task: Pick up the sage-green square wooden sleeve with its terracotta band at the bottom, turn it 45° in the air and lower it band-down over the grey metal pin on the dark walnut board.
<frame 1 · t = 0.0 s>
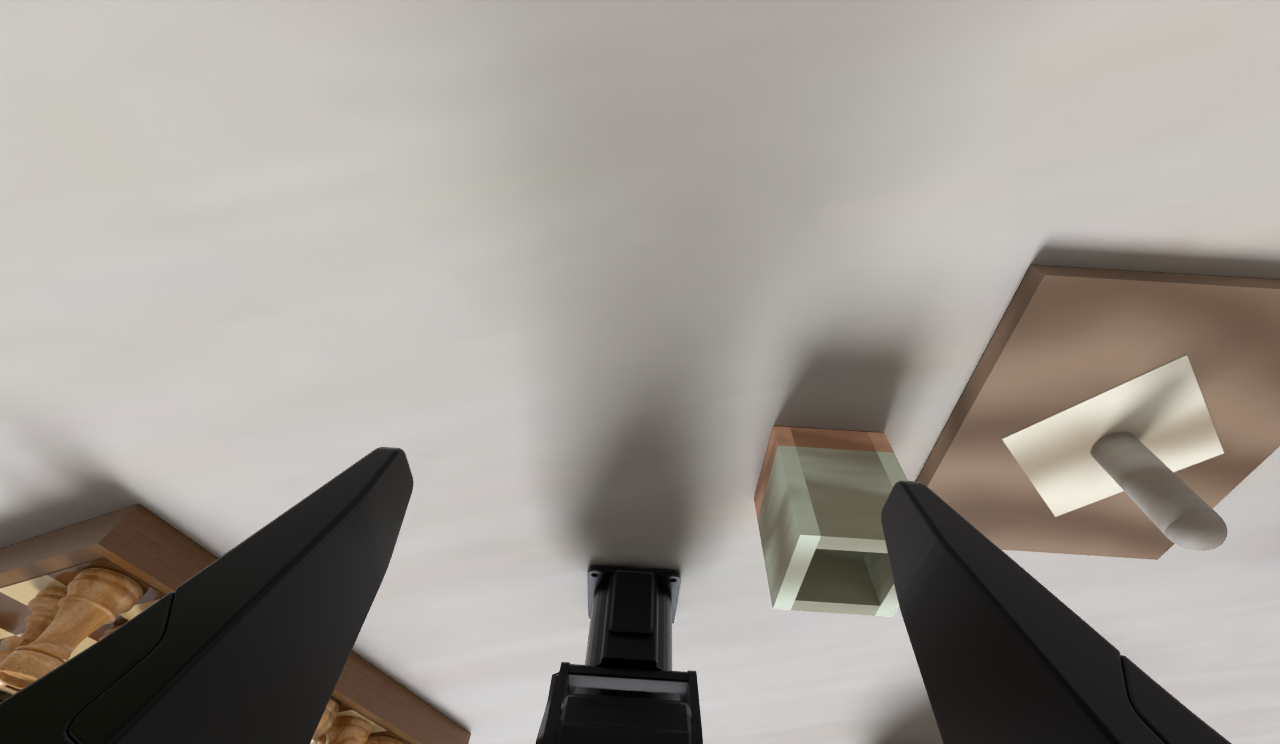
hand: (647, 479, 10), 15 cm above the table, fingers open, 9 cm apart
pin board: (1099, 432, 27), on the table
sleeve: (815, 468, 30), on the table
chess set: (190, 667, 51), on the table
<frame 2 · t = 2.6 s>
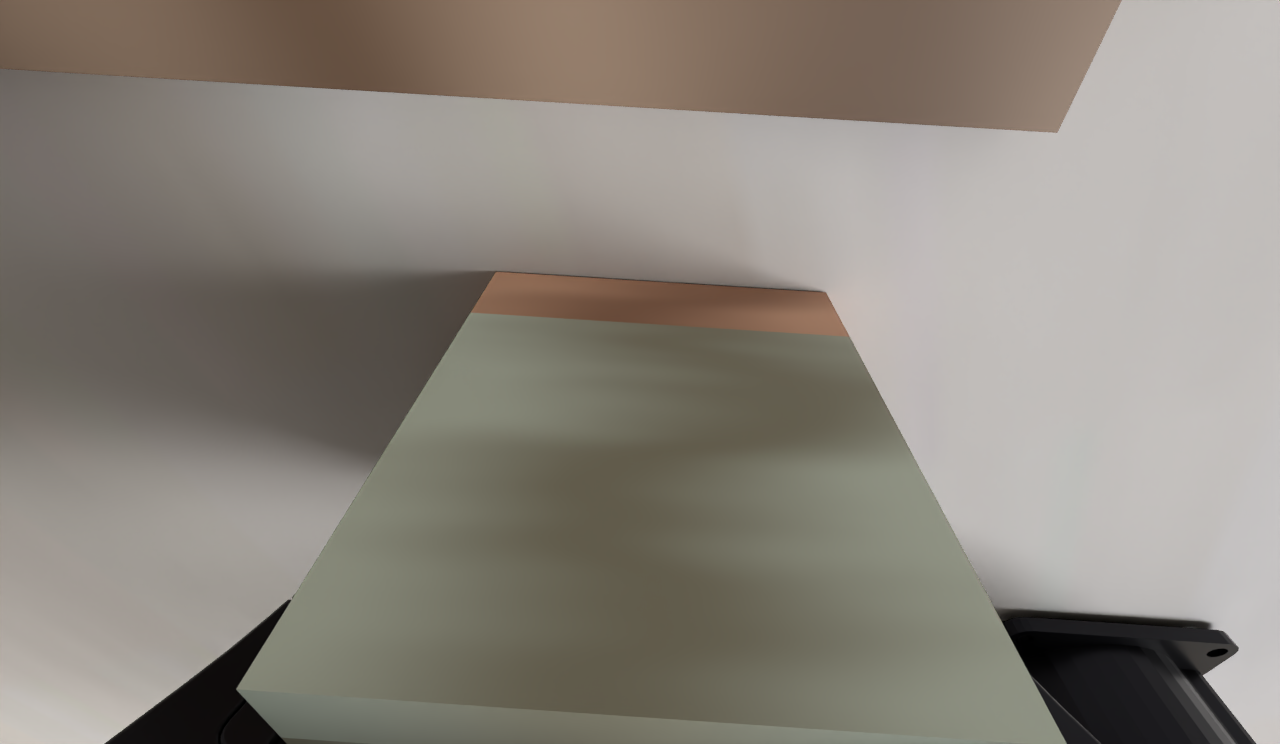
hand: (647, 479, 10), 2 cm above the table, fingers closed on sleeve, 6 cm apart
sleeve: (650, 408, 11), on the table, touching gripper
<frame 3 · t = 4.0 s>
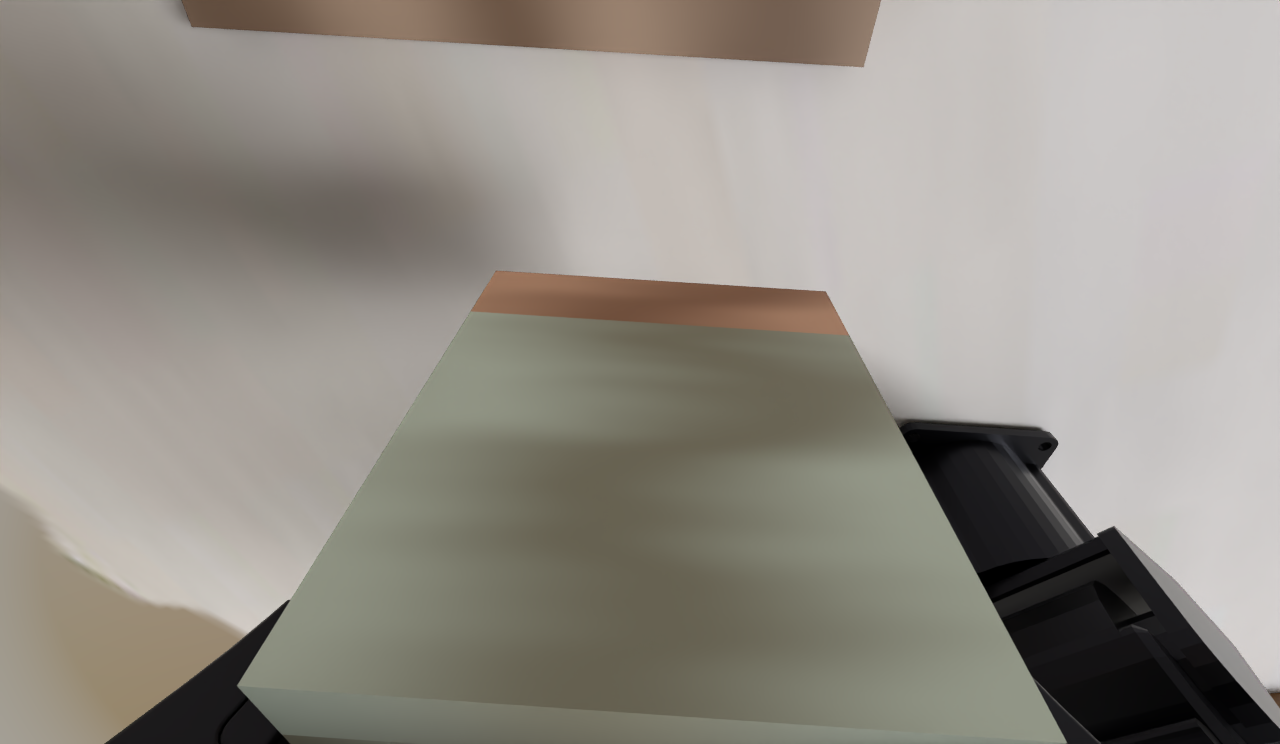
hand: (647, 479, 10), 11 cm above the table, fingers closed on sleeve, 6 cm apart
sleeve: (650, 407, 11), point 9 cm above the table, touching gripper
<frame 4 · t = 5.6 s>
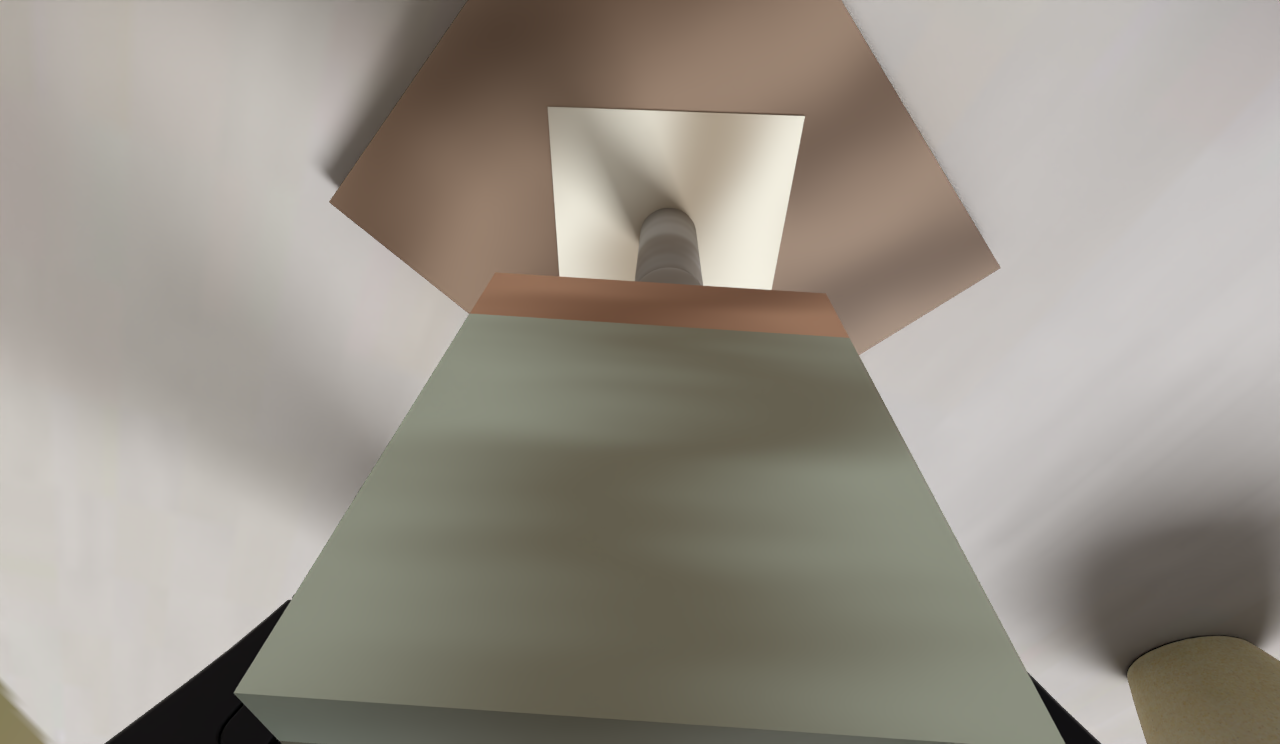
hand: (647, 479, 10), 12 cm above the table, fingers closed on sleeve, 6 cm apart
plant pot: (1187, 658, 36), on the table
pin board: (668, 225, 19), on the table
sleeve: (650, 409, 11), point 10 cm above the table, touching gripper
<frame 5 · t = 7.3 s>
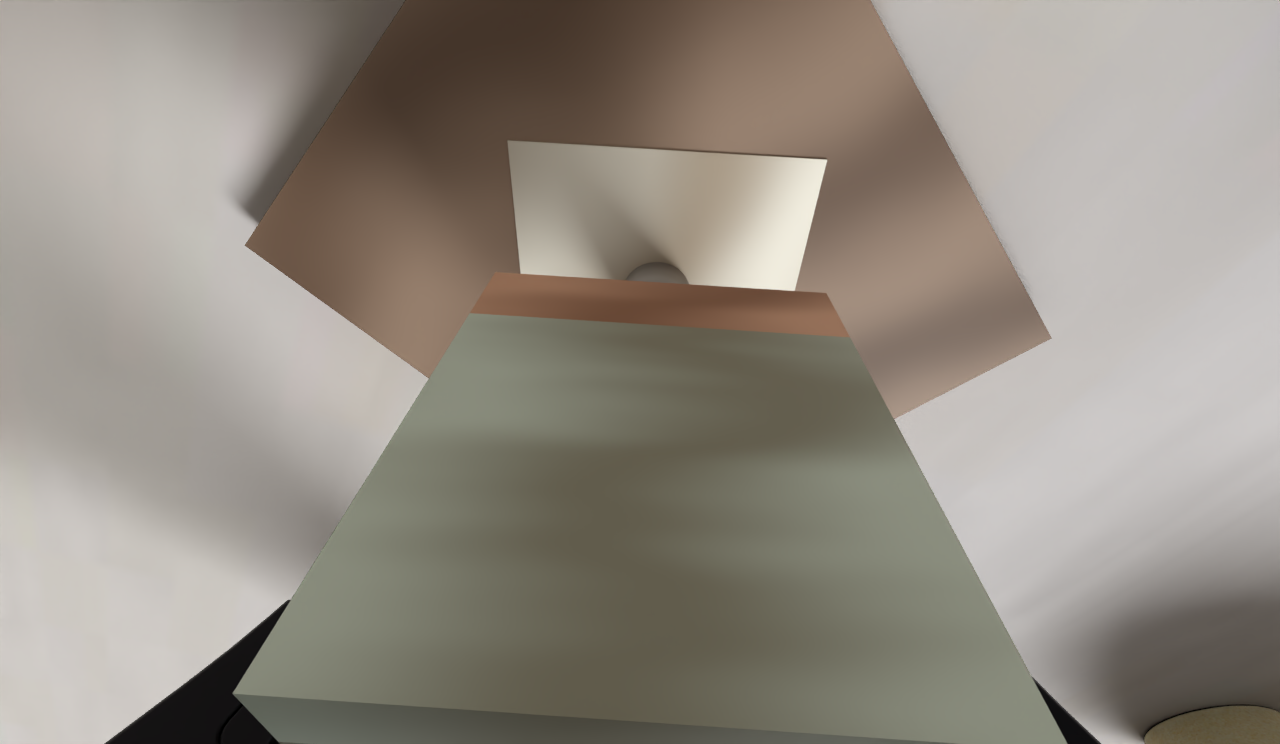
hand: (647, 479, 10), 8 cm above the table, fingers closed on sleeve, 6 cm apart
plant pot: (1210, 724, 33), on the table
pin board: (657, 277, 16), on the table
sleeve: (650, 409, 11), point 6 cm above the table, touching gripper
when the fingers open (4 cm above the table, at t = 8.6 s): sleeve drops 1 cm, resting on pin board.
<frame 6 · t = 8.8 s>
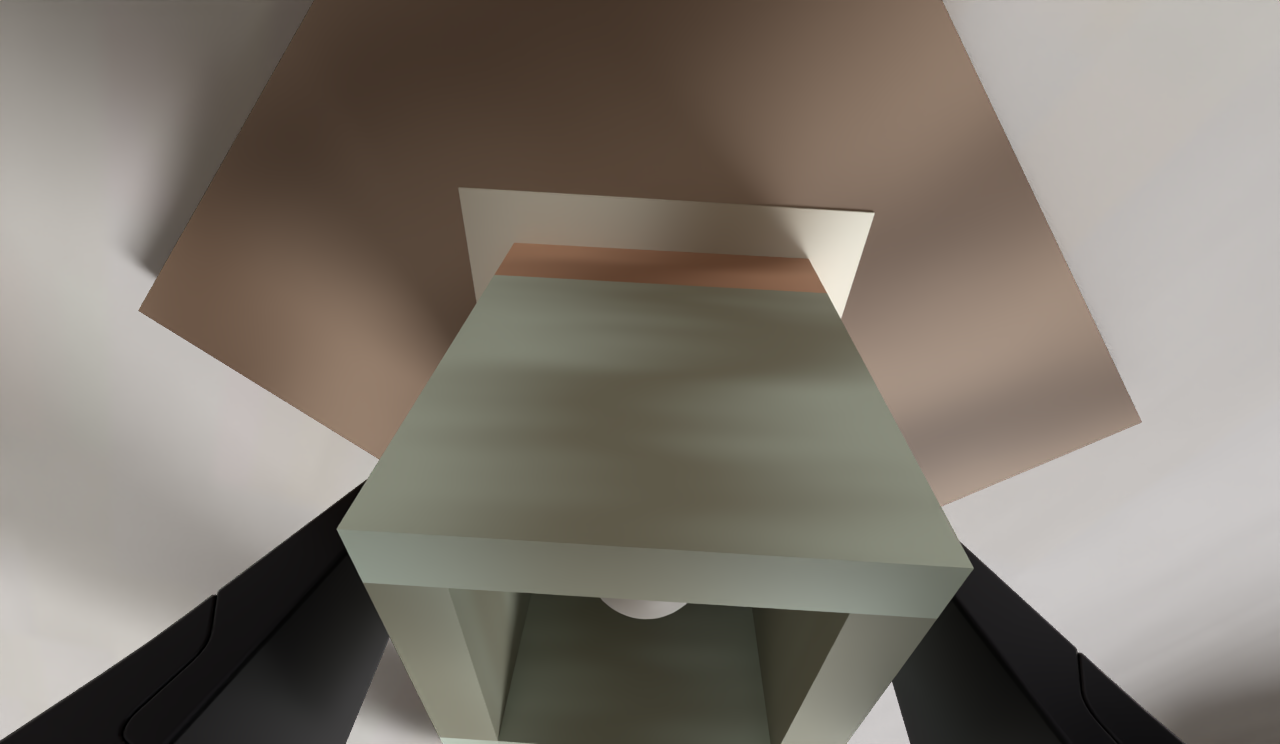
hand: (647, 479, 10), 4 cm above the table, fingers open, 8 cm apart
pin board: (654, 344, 13), on the table
sleeve: (652, 369, 12), point 1 cm above the table, touching pin board
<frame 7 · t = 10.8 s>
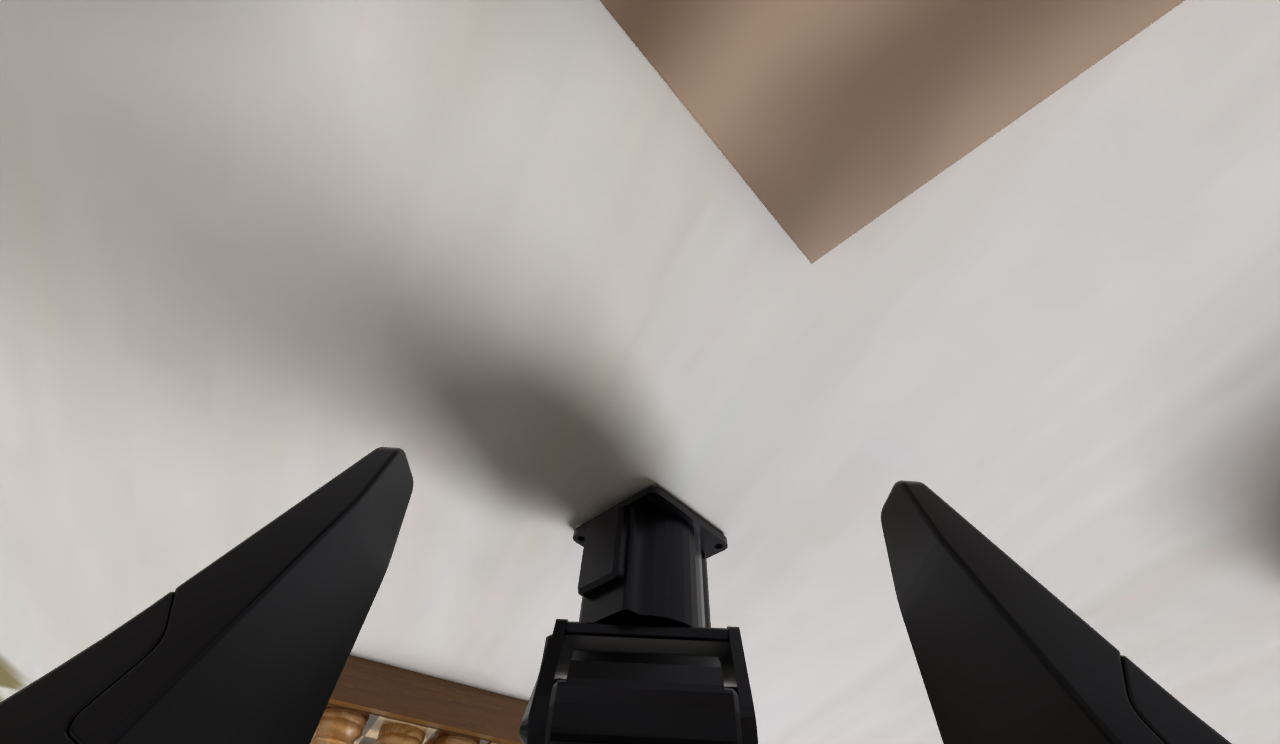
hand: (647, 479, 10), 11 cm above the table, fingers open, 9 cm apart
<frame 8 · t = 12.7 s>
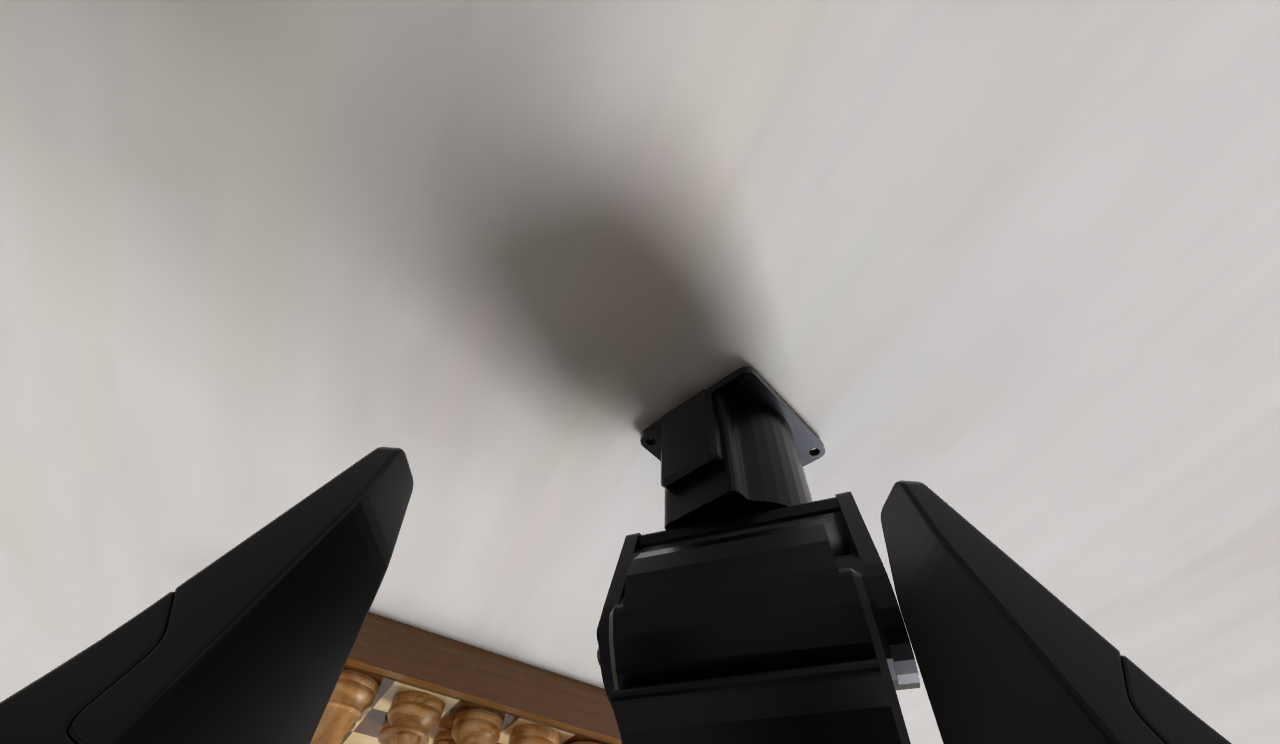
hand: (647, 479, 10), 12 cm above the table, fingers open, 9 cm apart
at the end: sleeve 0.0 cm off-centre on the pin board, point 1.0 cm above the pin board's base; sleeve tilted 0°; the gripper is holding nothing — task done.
